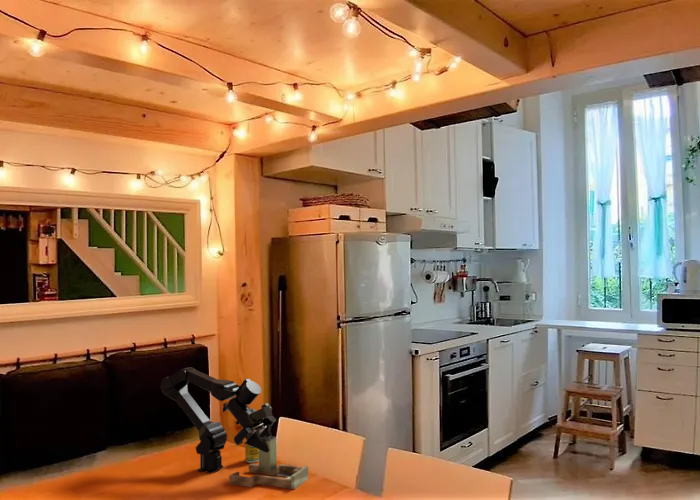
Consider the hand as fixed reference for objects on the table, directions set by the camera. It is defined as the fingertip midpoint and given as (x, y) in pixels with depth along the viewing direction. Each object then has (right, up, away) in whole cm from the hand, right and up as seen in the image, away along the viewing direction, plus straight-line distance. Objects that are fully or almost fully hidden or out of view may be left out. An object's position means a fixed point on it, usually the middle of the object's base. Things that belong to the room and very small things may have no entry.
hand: (271, 449), depth 191 cm
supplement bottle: (-9, -11, +19) cm, 24 cm away
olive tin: (-1, -7, 0) cm, 7 cm away
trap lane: (0, -10, 0) cm, 10 cm away
